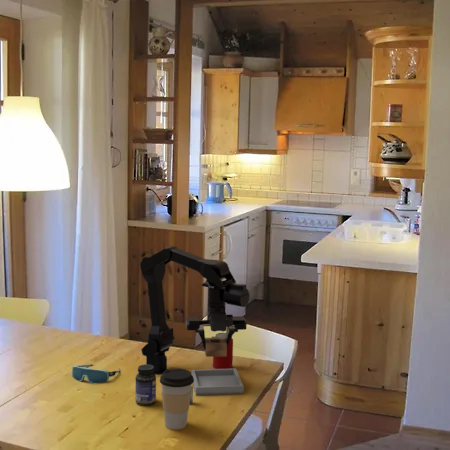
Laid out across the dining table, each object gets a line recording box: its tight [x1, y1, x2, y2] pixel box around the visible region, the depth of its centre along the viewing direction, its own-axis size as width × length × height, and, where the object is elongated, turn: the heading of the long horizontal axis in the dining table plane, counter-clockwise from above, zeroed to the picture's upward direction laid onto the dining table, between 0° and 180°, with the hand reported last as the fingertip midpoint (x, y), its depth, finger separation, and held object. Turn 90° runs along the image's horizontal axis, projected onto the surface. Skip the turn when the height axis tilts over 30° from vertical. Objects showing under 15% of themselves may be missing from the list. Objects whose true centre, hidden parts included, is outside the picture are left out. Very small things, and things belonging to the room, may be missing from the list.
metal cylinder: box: [189, 385, 194, 406], centre depth 194 cm, size 2×2×5 cm
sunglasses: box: [71, 364, 120, 384], centre depth 214 cm, size 14×15×5 cm
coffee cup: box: [159, 367, 194, 431], centre depth 179 cm, size 9×9×15 cm
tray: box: [190, 368, 245, 396], centre depth 208 cm, size 15×15×2 cm
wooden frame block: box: [203, 335, 227, 358], centre depth 206 cm, size 6×8×4 cm
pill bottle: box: [135, 363, 157, 407], centre depth 193 cm, size 6×6×11 cm
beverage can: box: [212, 332, 234, 369], centre depth 222 cm, size 7×7×12 cm
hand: (215, 349), depth 205 cm, fingers closed on wooden frame block, 6 cm apart
